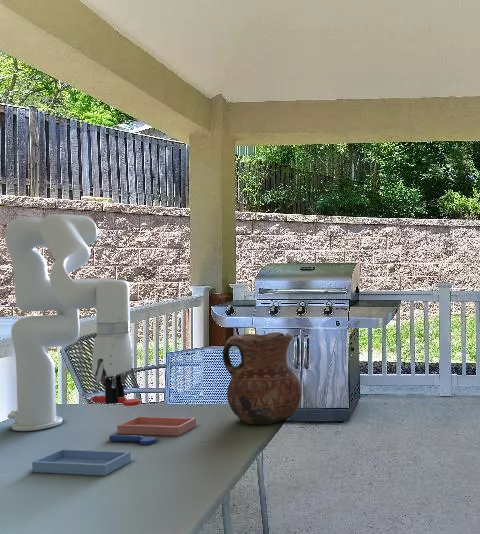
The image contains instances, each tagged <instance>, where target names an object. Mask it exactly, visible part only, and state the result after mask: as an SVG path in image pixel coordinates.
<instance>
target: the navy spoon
mask: <svg viewBox="0 0 480 534" xmlns="http://www.w3.org/2000/svg"><path fill="white" fill-rule="evenodd" d="M108 440H109V441H110V442H123V443H125V442H126V443H139V444H140V445H145V446H147V445H153V444H155V443H157V442H158V441H157V437H156V436H144V437H143V436H142V435H134V434H110V435H109V437H108Z"/></svg>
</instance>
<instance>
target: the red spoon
mask: <svg viewBox="0 0 480 534" xmlns="http://www.w3.org/2000/svg"><path fill="white" fill-rule="evenodd" d="M91 402H93V403H94V404H95V403H98V404H106V403H105V395H103V396H102V395H94V396H92V398H91ZM141 403H142V400H141V398H127V397H125V396H124V397H118V403H117V405H118V404H119V405H123V406H125V407H134V406H139V405H141Z"/></svg>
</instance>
